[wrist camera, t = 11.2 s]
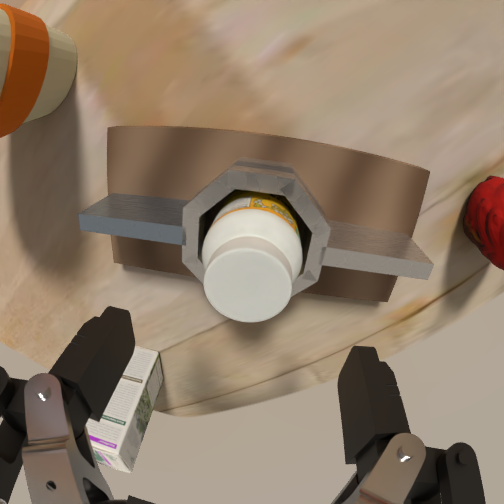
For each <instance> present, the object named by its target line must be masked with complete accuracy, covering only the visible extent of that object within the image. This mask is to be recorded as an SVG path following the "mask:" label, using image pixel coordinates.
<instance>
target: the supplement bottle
mask: <svg viewBox="0 0 504 504" xmlns="http://www.w3.org/2000/svg"><path fill="white" fill-rule="evenodd" d="M202 261H203V265H204V269H205V271H206V272H205V275H204V291H205V294H206V296H207V298H208V300H209V302H210V303H211V305H212V306H213V307H214V308H215V309H216V310H217V311H218V312H220V313H221V314H222V315H224V316H226V317H228V318H230V319H233V320H236V321H240V322H260V321H264V320H268V319H270V318H272V317H274V316H276V315H277V314H278V313H280V312H281V311H282V310H283V309H284V308H285V306H286V305H287V304H288V302H289V300H290V297H291V293H292V284H293V283H294V282H295V280H296V279H297V277H298V275H299V272H300V270H301V266H302V247H301V241H300V236H299V231H298V225H297V220H296V214H295V209H294V207H293V206H292V205H291V203H290V202H289V201H288V199H287V198H286V197H285V196H284V195H277V194H270V193H263V192H256V191H248V190H240V189H235V190H233V191H232V192H231V193H230V194H229V196H228V197H227V199H226V200H225V202H224V203H223V205H222V207H221V209H220V211H219V213H218V215H217V216H216V218H215V220H214V222H213V224H212V225H211V227H210V229H209V231H208V233H207V235H206V237H205V240H204V243H203V248H202Z"/></svg>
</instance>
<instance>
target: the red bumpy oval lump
mask: <svg viewBox="0 0 504 504" xmlns="http://www.w3.org/2000/svg"><path fill="white" fill-rule="evenodd" d="M463 227H464V232H465V234H466V236H467V237H468V238H469V239H470V240H471V241H472V242H473V243H474V244H475V245H476V246H477V247H478V248H479V250H480V251H481V253H482V254H483V255H484V256H485V257H486V258H488V259H489V260H490V261H491V262H492V264H494V265H495V266H496V267H498V268H500V269H502V270H504V179H503V178H500V177H496V176H489V177H488V178H487V180H486V181H484V182H481V183H479V184H478V185H477V187H476V188H475V189H474V191H473V193H472V194H471V197H470V199H469V202H468V204H467V210H466V215H465V217H464V220H463Z"/></svg>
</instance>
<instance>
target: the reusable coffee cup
mask: <svg viewBox="0 0 504 504" xmlns="http://www.w3.org/2000/svg"><path fill="white" fill-rule="evenodd" d="M76 68H77V50H76V46H75V44H74V41H73V40H72V39H71V37H70V36H69V35H67V34H65V33H63V32H61V31H59V30H56V29H54V28H52V27H49V26H47V25H45V23H44V22H43V21H42V20H41V19H40V18H39V17H37V16H35V15H32V14H30V13H27V12H25V11H22V10H20V9H17V8H14V7H11V6H9V5H6V4H0V138H1V137H3V136H6V135H8V134H10V133H12V132H13V131H15V130H16V129H17V128H18V127H19V126H21V125H22V124H24V123H26V122H29V121H32V120H34V119H37V118H40V117H43V116H46V115H48V114H50V113H51V112H53V111H54V110H55V109H56V108H57V107H58V106H59V105H60V104H61V103H62V102H63V100H64V99H65V97H66V96H67V94H68V92H69V90H70V88H71V86H72V83H73V80H74V77H75V73H76Z"/></svg>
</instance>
